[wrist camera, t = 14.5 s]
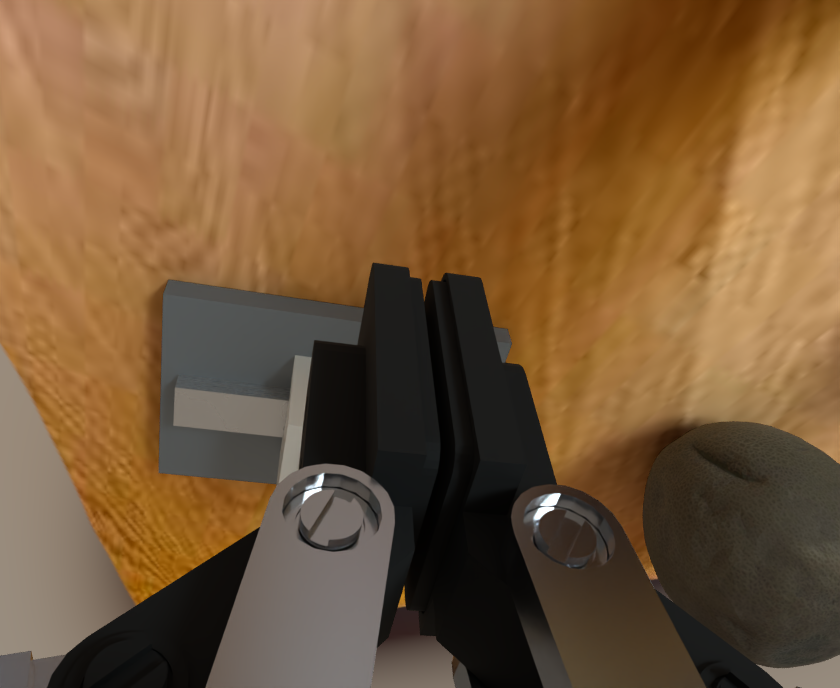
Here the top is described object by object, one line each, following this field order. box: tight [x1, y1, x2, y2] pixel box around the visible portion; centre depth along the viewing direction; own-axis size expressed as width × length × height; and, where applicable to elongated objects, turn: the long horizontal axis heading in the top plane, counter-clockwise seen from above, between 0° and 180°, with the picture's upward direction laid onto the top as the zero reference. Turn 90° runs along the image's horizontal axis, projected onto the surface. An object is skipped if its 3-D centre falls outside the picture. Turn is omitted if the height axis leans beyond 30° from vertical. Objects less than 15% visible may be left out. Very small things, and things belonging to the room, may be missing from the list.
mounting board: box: [159, 280, 512, 484], centre depth 46 cm, size 20×14×2 cm
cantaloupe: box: [643, 421, 840, 668], centre depth 46 cm, size 14×14×15 cm
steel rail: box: [173, 375, 290, 437], centre depth 45 cm, size 18×3×1 cm, turn 77°
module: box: [276, 355, 312, 487], centre depth 43 cm, size 5×8×6 cm, turn 167°
